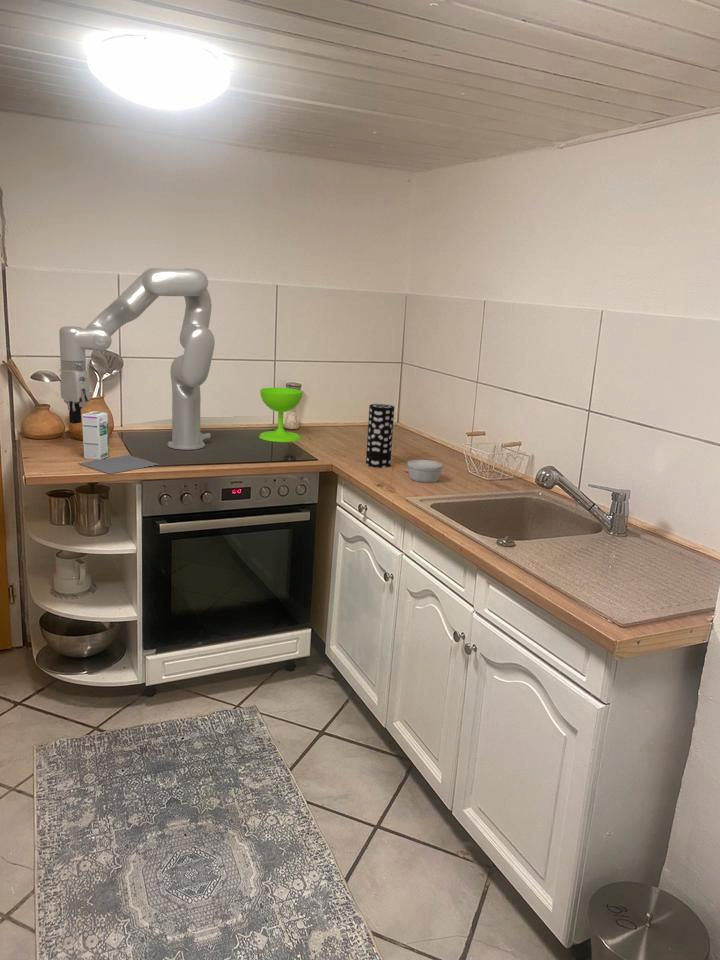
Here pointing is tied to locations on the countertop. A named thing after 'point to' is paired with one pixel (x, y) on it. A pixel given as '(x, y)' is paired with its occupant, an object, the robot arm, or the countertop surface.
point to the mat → (118, 464)
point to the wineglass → (280, 411)
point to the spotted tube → (380, 435)
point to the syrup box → (95, 435)
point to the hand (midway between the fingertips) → (75, 422)
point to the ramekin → (424, 471)
